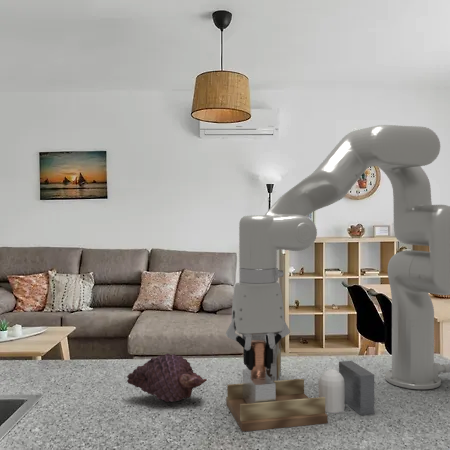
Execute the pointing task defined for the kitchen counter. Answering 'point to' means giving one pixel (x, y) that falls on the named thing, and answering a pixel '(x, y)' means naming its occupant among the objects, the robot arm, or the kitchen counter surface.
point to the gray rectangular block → (358, 387)
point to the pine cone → (166, 378)
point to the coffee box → (276, 365)
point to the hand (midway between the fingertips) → (258, 366)
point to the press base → (277, 407)
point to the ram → (258, 377)
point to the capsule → (332, 391)
